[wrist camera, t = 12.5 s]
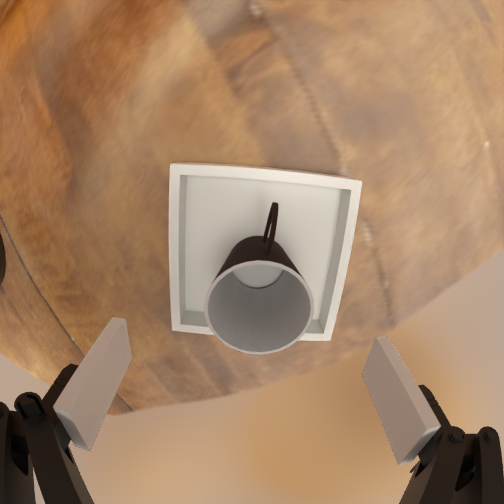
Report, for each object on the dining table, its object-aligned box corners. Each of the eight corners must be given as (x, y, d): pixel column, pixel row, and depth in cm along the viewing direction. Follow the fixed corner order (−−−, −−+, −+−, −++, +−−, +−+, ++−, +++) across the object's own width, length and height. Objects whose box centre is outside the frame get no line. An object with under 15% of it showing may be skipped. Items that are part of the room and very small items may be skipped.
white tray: (179, 312, 35) (172, 330, 32) (180, 162, 29) (170, 163, 26) (323, 322, 36) (330, 340, 32) (349, 177, 30) (362, 181, 26)
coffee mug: (266, 311, 34) (270, 368, 25) (203, 272, 32) (184, 322, 23) (330, 232, 31) (360, 269, 21) (264, 185, 29) (269, 202, 20)
